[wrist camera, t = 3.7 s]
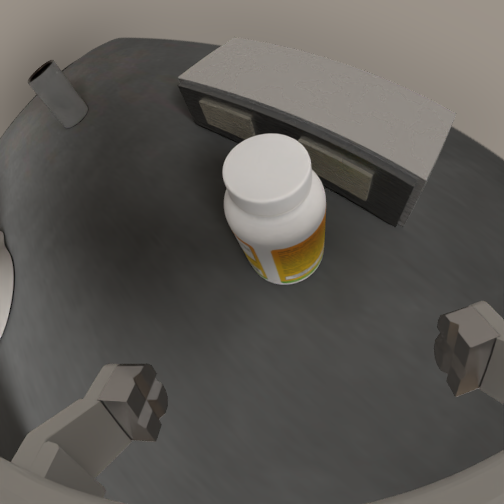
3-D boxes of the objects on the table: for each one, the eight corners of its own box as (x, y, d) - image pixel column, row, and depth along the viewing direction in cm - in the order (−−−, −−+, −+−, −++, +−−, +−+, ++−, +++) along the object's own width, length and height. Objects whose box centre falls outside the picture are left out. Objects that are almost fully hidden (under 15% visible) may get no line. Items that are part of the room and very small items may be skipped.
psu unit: (191, 126, 29) (170, 83, 23) (246, 79, 30) (235, 37, 25) (397, 236, 20) (420, 190, 15) (436, 161, 22) (456, 113, 17)
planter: (78, 105, 37) (45, 61, 28) (93, 106, 36) (58, 57, 26) (60, 127, 36) (23, 83, 27) (73, 129, 34) (34, 81, 25)
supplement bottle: (330, 224, 22) (336, 129, 13) (313, 294, 20) (313, 229, 11) (261, 211, 23) (230, 118, 15) (239, 276, 22) (188, 205, 13)
